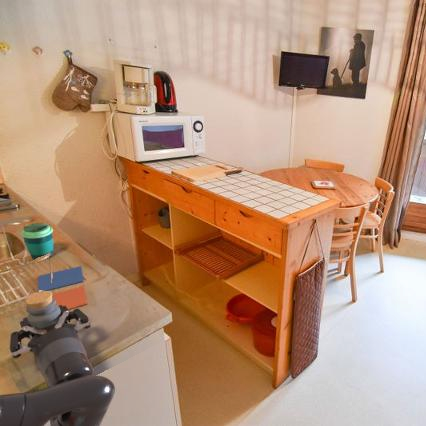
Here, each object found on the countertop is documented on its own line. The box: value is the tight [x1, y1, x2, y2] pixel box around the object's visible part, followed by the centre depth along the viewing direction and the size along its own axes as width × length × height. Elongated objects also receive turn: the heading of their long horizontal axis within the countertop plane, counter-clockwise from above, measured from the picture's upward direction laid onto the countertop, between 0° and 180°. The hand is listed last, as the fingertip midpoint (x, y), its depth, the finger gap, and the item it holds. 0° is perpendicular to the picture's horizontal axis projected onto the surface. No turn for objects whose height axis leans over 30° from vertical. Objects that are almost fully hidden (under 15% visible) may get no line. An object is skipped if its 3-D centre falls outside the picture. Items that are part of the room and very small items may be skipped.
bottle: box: [24, 290, 62, 329], centre depth 74 cm, size 6×6×15 cm
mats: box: [37, 265, 88, 311], centre depth 96 cm, size 11×23×1 cm, turn 38°
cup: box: [20, 222, 54, 261], centre depth 109 cm, size 8×8×12 cm
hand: (43, 314), depth 76 cm, fingers closed on bottle, 6 cm apart
